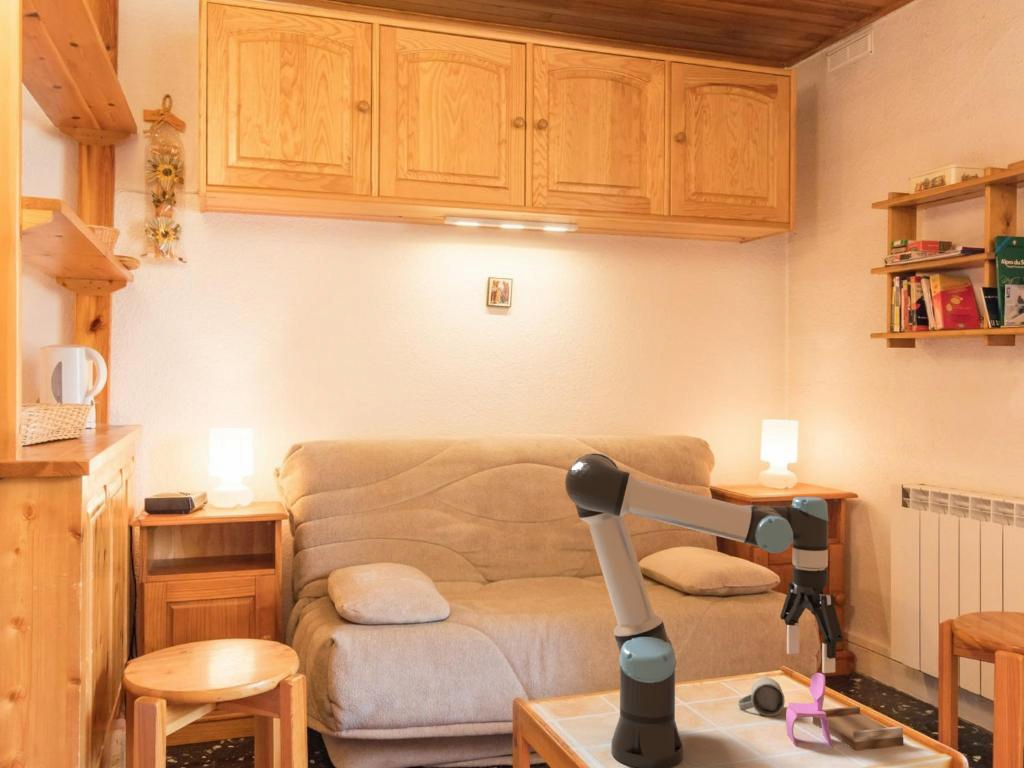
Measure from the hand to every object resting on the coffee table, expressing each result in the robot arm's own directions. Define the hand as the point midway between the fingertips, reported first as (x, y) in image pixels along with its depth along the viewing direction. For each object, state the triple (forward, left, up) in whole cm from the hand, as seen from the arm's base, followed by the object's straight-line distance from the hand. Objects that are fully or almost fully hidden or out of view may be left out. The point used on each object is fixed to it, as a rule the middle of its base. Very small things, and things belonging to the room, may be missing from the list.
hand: (810, 662), depth 195 cm
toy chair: (0, 0, -18) cm, 18 cm away
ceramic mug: (-1, +19, -18) cm, 26 cm away
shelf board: (+13, +1, -17) cm, 22 cm away
